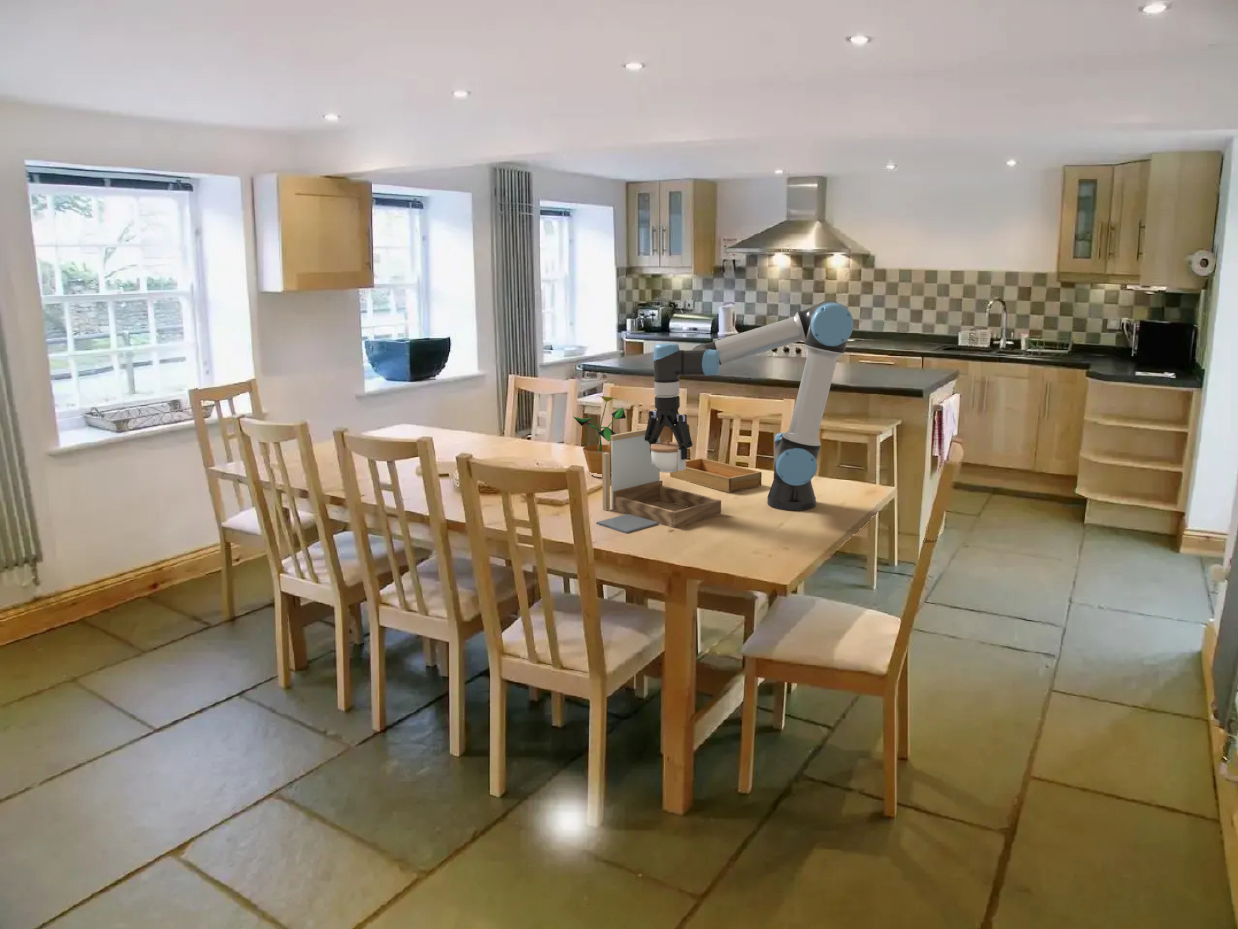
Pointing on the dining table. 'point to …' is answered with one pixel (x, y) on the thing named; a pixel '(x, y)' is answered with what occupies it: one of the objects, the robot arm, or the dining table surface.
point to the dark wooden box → (639, 495)
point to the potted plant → (595, 451)
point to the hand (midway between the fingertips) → (668, 467)
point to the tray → (718, 475)
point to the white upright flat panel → (627, 464)
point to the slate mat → (627, 523)
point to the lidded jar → (665, 456)
